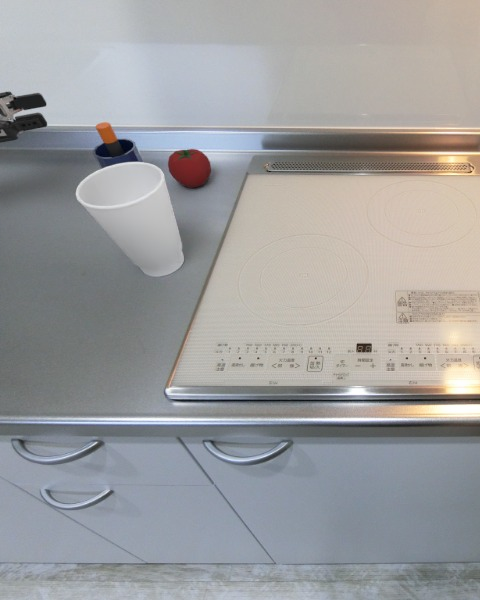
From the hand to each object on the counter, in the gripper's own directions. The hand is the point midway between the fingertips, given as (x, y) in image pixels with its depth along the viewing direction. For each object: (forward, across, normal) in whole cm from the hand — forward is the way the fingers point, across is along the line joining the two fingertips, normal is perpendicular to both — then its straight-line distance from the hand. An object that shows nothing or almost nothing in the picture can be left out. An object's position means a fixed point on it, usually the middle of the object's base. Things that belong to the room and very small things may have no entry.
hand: (44, 108), depth 76 cm
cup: (+9, -28, +17) cm, 34 cm away
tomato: (+19, -6, +17) cm, 26 cm away
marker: (+7, 0, +17) cm, 18 cm away
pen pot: (+7, 0, +17) cm, 19 cm away
